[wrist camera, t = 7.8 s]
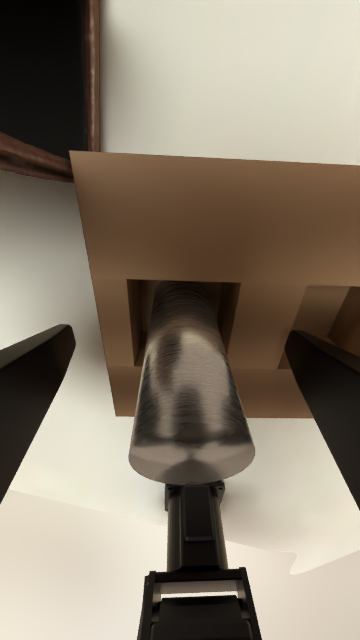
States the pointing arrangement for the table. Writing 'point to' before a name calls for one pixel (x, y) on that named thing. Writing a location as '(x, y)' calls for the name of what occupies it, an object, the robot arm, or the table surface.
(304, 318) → the block
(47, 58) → the letter holder
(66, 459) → the table surface
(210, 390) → the pin
